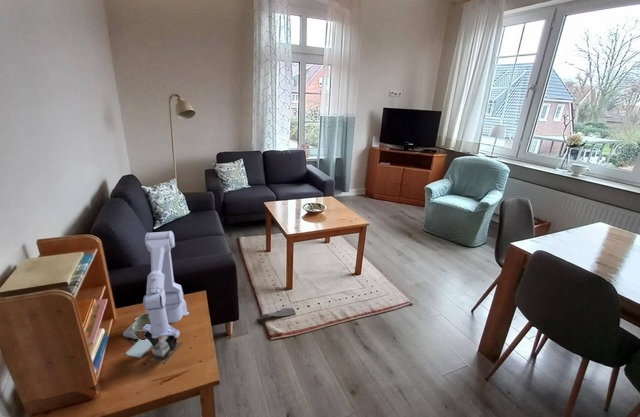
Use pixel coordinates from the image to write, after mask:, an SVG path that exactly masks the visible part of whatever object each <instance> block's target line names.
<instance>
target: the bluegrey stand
mask: <svg viewBox="0 0 640 417" xmlns="http://www.w3.org/2000/svg"><path fill="white" fill-rule="evenodd" d="M158 339H159V337H158ZM159 340H160V339H159ZM136 341H137V342H135V343H134V344H133V345H132V346H131V347H130V348H129V349H128V350H127V351H126V352H125V354H124V355H127V356H131V357H135V358H139V359H142V357H143V356H144V355H145V354H146V353H147V352H148V351H149V350H150V349H152V348H153V345H152V344H151V342H150V341H149V340H148V339H145V340H141V339H139V340H136ZM151 347H152V348H151Z"/></svg>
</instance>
